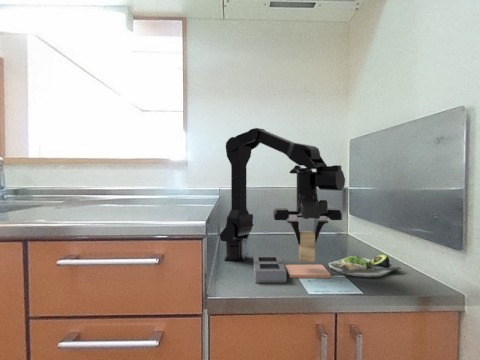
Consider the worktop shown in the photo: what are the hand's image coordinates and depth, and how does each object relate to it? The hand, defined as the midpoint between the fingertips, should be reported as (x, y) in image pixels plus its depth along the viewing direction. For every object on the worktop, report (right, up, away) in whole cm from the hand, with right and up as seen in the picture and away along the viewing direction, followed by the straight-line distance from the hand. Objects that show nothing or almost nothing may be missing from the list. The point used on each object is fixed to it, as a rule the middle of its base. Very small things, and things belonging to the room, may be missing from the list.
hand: (306, 244), depth 106 cm
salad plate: (+17, -8, +3) cm, 19 cm away
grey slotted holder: (-11, -8, -1) cm, 14 cm away
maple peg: (0, -5, 0) cm, 5 cm away
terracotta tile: (0, -8, 0) cm, 8 cm away
